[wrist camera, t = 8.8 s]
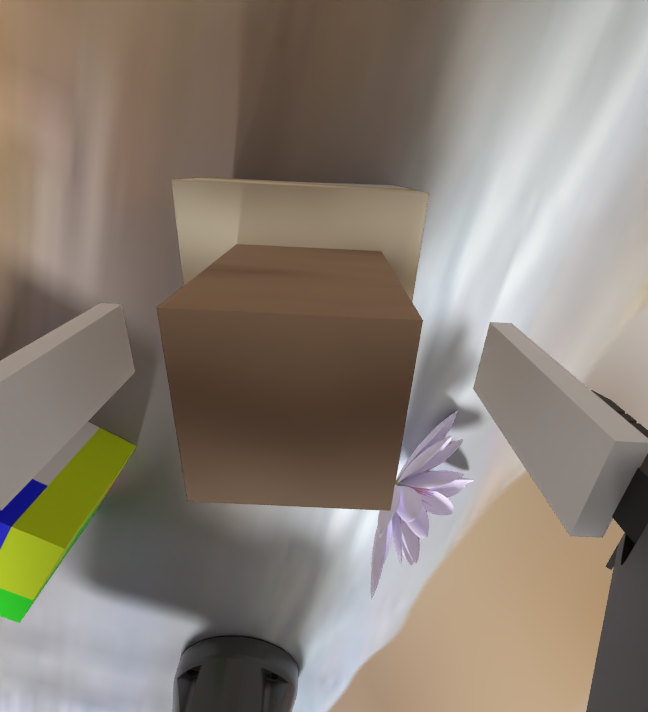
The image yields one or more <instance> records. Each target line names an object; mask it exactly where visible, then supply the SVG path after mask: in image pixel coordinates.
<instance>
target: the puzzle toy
mask: <svg viewBox="0 0 648 712" xmlns="http://www.w3.org/2000/svg"><path fill="white" fill-rule="evenodd" d="M136 447H137V446H135V445H133V444H131V443H129V442H127V441H125V440H123V439H122V438H120V437H118V436H116V435H114V434H112V433H110V432H108V431H106V430H104V429H102V428H100V427H98V426H96V425H94V424H92V423H90V422H87V423H86V424H85V425H84V426H83V427H82V428H81V429H80V430H79V431H78V432H77V433H76V434H75V435H74V436H73V437H72V438H71V439H70V440H69V441H68V442H67V443H66V444H65V446H64V447H63V448H62V449H61V450H60V451H59V452H58V453H57V454H56V455H55V456H54V457H53V458H52V459H51V460H50V461H49V462H48V463H47V464H46V465H45V466H44V467H43V468H42V469H41V470H40V471H39V472H38V473H37V474H36V475H35V477H34V478H33V479H32V480H31V481H30V482H29V483H28V484H27V485H26V486H25V487H24V488H23V489H22V490H21V491H20V492H19V493H18V494H17V495H16V496H15V497H14V498H13V499H12V500H11V501H10V502H9V503H8V504H7V505H6V506H5V508H4V509H3V510H0V616H2V617H4V618H7V619H10V620H13V621H16V622H19V623H20V621H21V620H22V618H23V617H24V616H25V614H26V613H27V611H28V610H29V608H30V607H31V605H32V604H33V602H34V601H35V600H36V598H37V597H38V595H39V594H40V592H41V591H42V589H43V588H44V586H45V585H46V584H47V582H48V581H49V579H50V578H51V576H52V575H53V573H54V572H55V570H56V569H57V568H58V566H59V565H60V563H61V562H62V560H63V559H64V557H65V556H66V554H67V553H68V552H69V550H70V549H71V547H72V546H73V544H74V543H75V541H76V540H77V538H78V537H79V536H80V534H81V533H82V531H83V530H84V528H85V527H86V525H87V524H88V522H89V521H90V520H91V518H92V517H93V515H94V514H95V512H96V511H97V509H98V507H99V506H100V504H101V503H102V501H103V499H104V498H105V496H106V495H107V493H108V491H109V490H110V488H111V487H112V485H113V483H114V482H115V480H116V479H117V477H118V475H119V474H120V472H121V471H122V469H123V467H124V466H125V464H126V463H127V461H128V459H129V458H130V456H131V455H132V453H133V451H134V450H135V448H136Z"/></svg>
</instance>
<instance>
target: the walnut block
mask: <svg viewBox="0 0 648 712" xmlns="http://www.w3.org/2000/svg"><path fill="white" fill-rule="evenodd" d="M157 313H158V320H159V326H160V332H161V338H162V345H163V351H164V357H165V364H166V370H167V376H168V382H169V389H170V395H171V401H172V408H173V414H174V420H175V427H176V433H177V439H178V445H179V452H180V458H181V464H182V471H183V477H184V483H185V489H186V496H187V501H192V502H213V503H235V504H257V505H278V506H300V507H322V508H343V509H365V510H386V511H391V505H392V499H393V493H394V487H395V481H396V475H397V470H398V464H399V458H400V452H401V446H402V440H403V434H404V428H405V422H406V416H407V410H408V405H409V399H410V393H411V387H412V381H413V375H414V369H415V363H416V357H417V351H418V346H419V340H420V334H421V328H422V322H423V320H422V318H421V316H420V315H419V313H418V311H417V310H416V308H415V306H414V305H413V303H412V301H411V300H410V298H409V296H408V295H407V293H406V291H405V290H404V288H403V286H402V285H401V283H400V281H399V280H398V278H397V276H396V275H395V273H394V271H393V270H392V268H391V266H390V265H389V263H388V261H387V260H386V258H385V256H384V255H383V253H382V251H369V250H348V249H327V248H307V247H286V246H265V245H244V244H236V245H235V246H234V247H232V248H231V249H230V250H228V251H227V252H226V253H225V254H223V255H222V256H221V257H220V258H218V259H217V260H216V261H215V262H213V263H212V264H211V265H210V266H208V267H207V268H206V269H205V270H203V271H202V272H201V273H200V274H198V275H197V276H196V277H194V278H193V279H192V280H191V281H189V282H188V283H187V284H186V285H184V286H183V287H182V288H181V289H179V290H178V291H177V292H176V293H174V294H173V295H172V296H171V297H169V298H168V299H167V300H166V301H164V302H163V303H162V304H161V305H159V306H158V307H157Z"/></svg>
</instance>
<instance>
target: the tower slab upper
mask: <svg viewBox="0 0 648 712" xmlns="http://www.w3.org/2000/svg"><path fill="white" fill-rule="evenodd" d="M171 182H172V190H173V199H174V207H175V216H176V224H177V233H178V241H179V250H180V258H181V267H182V275H183V284H184V285H186V284H187V283H188V282H189V281H191V280H192V279H193V278H194V277H196V276H197V275H198V274H200V273H201V272H202V271H203V270H205V269H206V268H207V267H208V266H210V265H211V264H212V263H213V262H215V261H216V260H217V259H218V258H220V257H221V256H222V255H223V254H225V253H226V252H227V251H228V250H230V249H231V248H232V247H234V246H235V245H236V244H244V245H265V246H286V247H307V248H327V249H348V250H369V251H382V253H383V255H384V256H385V258H386V260H387V261H388V263H389V265H390V266H391V268H392V270H393V271H394V273H395V275H396V276H397V278H398V280H399V281H400V283H401V285H402V286H403V288H404V290H405V291H406V293H407V295H408V296H409V298H410V300H411V301H412V300H413V294H414V287H415V281H416V275H417V268H418V262H419V255H420V249H421V243H422V236H423V230H424V224H425V217H426V211H427V205H428V198H429V193H425V192H421V191H417V190H413V189H409V188H400V187H381V186H363V185H344V184H325V183H306V182H288V181H269V180H250V179H231V178H213V177H205V178H191V179H177V180H171Z"/></svg>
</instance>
